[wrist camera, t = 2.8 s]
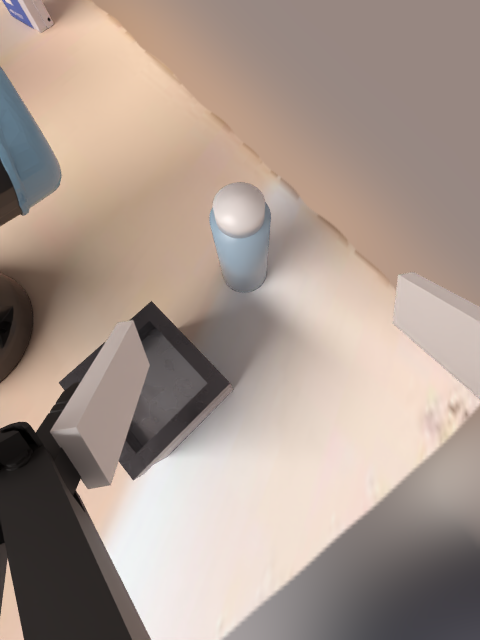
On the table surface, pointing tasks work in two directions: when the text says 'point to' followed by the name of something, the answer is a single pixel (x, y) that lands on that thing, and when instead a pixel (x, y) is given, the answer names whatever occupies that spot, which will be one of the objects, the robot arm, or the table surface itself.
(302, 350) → the table surface
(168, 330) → the square planter pot
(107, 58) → the table surface
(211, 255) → the table surface
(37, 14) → the walkman
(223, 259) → the white-capped blue bottle
